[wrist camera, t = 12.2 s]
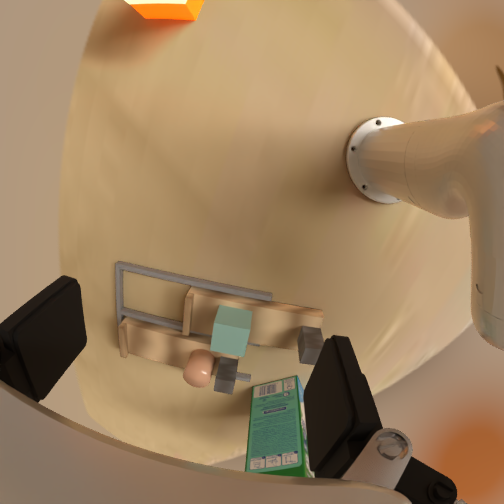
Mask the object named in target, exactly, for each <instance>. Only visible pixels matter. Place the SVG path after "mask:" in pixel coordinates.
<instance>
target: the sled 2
mask: <svg viewBox="0 0 504 504" xmlns="http://www.w3.org/2000/svg"><path fill="white" fill-rule="evenodd" d="M219 305H223V306H228V307H233V308H238V309H243V310H249V311H252V319H251V328H250V334H249V338H248V342H249V343H255V344H260V345H266V346H272V347H278V348H285V349H291V350H298V352H299V361H300V363H302V364H310V365H315V364H316V362H317V360H318V357H319V355H320V352H321V350H322V347H323V345H324V341H323V337H322V333H321V329H320V328H321V325H322V323H323V320H324V316H323V313H322V310H318V309H312V308H306V307H300V306H294V305H288V304H283V303H277V302H272V301H266V300H260V299H255V298H250V297H245V296H240V295H235V294H230V293H225V292H220V291H215V290H210V289H205V288H201V287H196V286H191V288H190V290H189V292H188V293H187V295H186V297H185V306H184V318H183V331H182V335H186V336H189V333H190V331H195V332H200V333H204V334H209V335H212V333H213V326H214V321H215V318H216V315H217V311H218V308H219Z"/></svg>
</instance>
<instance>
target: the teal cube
mask: <svg viewBox="0 0 504 504" xmlns="http://www.w3.org/2000/svg"><path fill="white" fill-rule="evenodd" d="M251 319H252V311H249V310H243V309H238V308H233V307H228V306H223V305H219V308H218V311H217V315H216V318H215V321H214V326H213V333H212V340H211V347H210V350H211V351H216V352H220V353H225V354H230V355H236V356H241V357H244V355H245V351H246V346H247V342H248V338H249V334H250V328H251Z"/></svg>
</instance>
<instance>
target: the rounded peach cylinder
mask: <svg viewBox="0 0 504 504" xmlns="http://www.w3.org/2000/svg"><path fill="white" fill-rule="evenodd" d="M214 364H215V357H214V355H213V354H212V353H211V352H209V351H207V350H204V349H196V350H194V351H192V352H191V354H190V357H189V360H188V362H187V365H186V368H185V371H184V373H183V378H184V380H185V381H186V382H187V383H188V384H190V385H191V386H194V387H199V388H201V387H206V386H207V385H209V383H210V380H211V376H212V372H213V368H214Z"/></svg>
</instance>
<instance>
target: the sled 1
mask: <svg viewBox="0 0 504 504" xmlns="http://www.w3.org/2000/svg"><path fill="white" fill-rule="evenodd" d="M118 335H119V346H120V356H121V357H123V358H126V357H127V355H128V353H130V354H133V355H136V356H140V357H143V358H146V359H150V360H153V361H157V362H161V363H164V364H168V365H172V366H176V367H180V368H184V369H185V368H186V365H187V362H188V360H189V357H190V354H191V352H192V351H194V350H196V349H204V350H207V351H209V352H211V353H212V354H213V355H214V357H215V364H214V368H213V372H212V375H215V376H216V379H215V385H214V391H217V392H222V393H227V394H232V393H233V389H234V384H235V379H236V372H237V365H238V359H239V356H236V355H230V354H225V353H220V352H216V351H211V350H210V347H211V340H212V337H209V336H204V335H200V334H195V333H191V332H190V333H189V336H186V335H182V330H178V329H174V328H170V327H166V326H162V325H158V324H154V323H151V322H147V321H143V320H139V319H136V318H132V317H129V316H126V317H125V319H124V320H123V321H122V323H121V324H120V325H119V326H118Z"/></svg>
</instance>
